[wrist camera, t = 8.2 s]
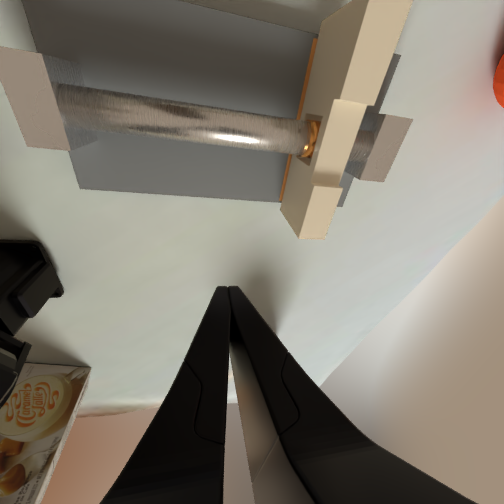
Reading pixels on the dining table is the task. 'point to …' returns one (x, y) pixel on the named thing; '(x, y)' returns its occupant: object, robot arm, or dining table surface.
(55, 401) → the coffee box
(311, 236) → the cream flat bar
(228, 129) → the steel pipe
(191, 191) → the rail board
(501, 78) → the clementine
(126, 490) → the robot arm
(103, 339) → the dining table surface
